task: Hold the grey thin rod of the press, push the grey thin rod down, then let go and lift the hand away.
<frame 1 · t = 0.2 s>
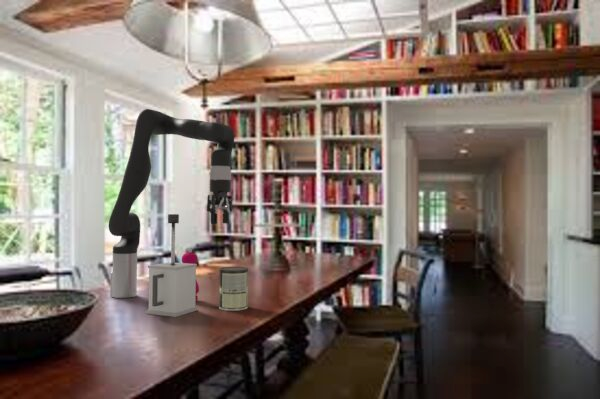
hand: (219, 223, 186), 30 cm above the table, tool pointing down, fingers open, 8 cm apart
press: (172, 311, 175), on the table
pepper mill: (189, 301, 195), on the table
grey thin rod: (173, 246, 175), point 22 cm above the table, slide at 0.0 cm
coffee can: (233, 308, 182), on the table
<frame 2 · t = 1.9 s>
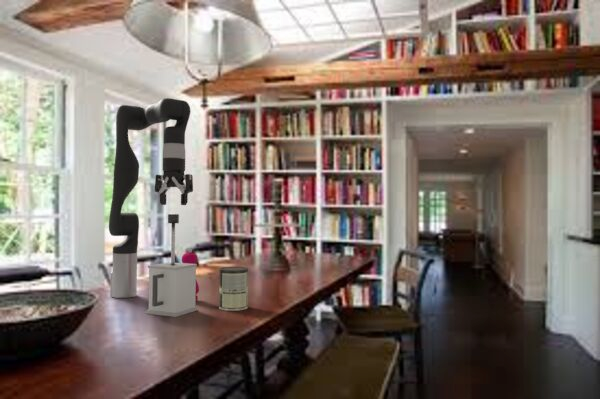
hand: (173, 205, 175), 36 cm above the table, tool pointing down, fingers open, 8 cm apart
nothing on the table moved.
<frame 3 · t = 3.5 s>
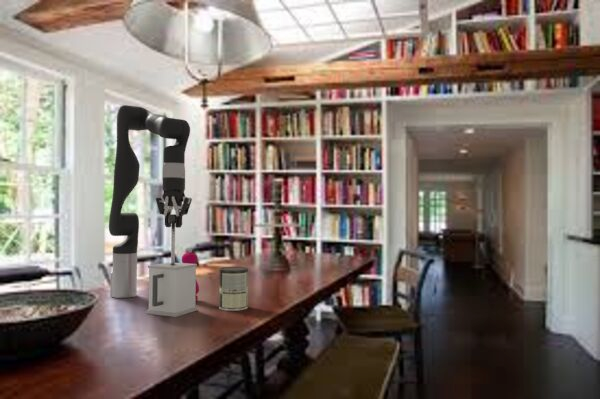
hand: (173, 227, 175), 29 cm above the table, tool pointing down, fingers closed on grey thin rod, 3 cm apart
grey thin rod: (173, 246, 175), point 22 cm above the table, slide at 0.0 cm, touching gripper
everything else where it was.
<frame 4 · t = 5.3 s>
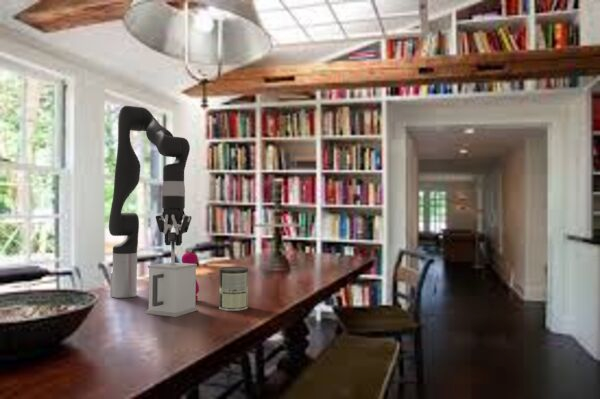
hand: (173, 245, 175), 23 cm above the table, tool pointing down, fingers closed on grey thin rod, 3 cm apart
grey thin rod: (172, 264, 175), point 16 cm above the table, slide at 6.2 cm, touching gripper
everything else where it was.
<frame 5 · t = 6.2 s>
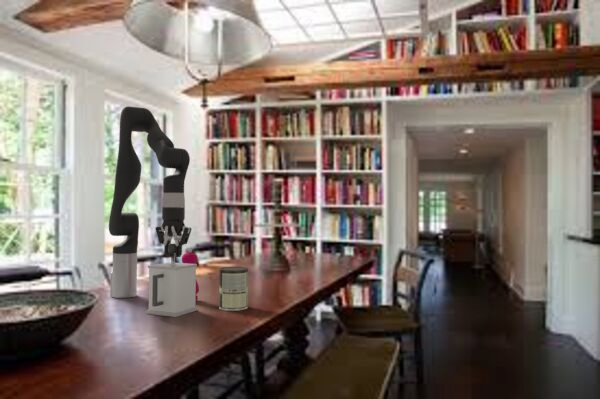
hand: (173, 256, 175), 19 cm above the table, tool pointing down, fingers closed on grey thin rod, 3 cm apart
grey thin rod: (172, 275, 175), point 12 cm above the table, slide at 10.1 cm, touching gripper
everything else where it was.
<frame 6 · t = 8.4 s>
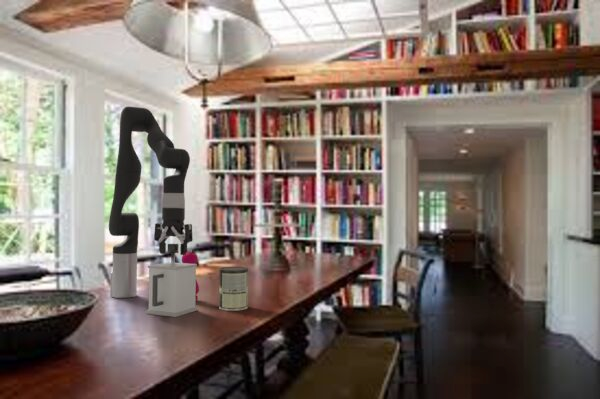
hand: (173, 254, 175), 20 cm above the table, tool pointing down, fingers open, 8 cm apart
grey thin rod: (172, 276, 175), point 12 cm above the table, slide at 10.1 cm
everything else where it was.
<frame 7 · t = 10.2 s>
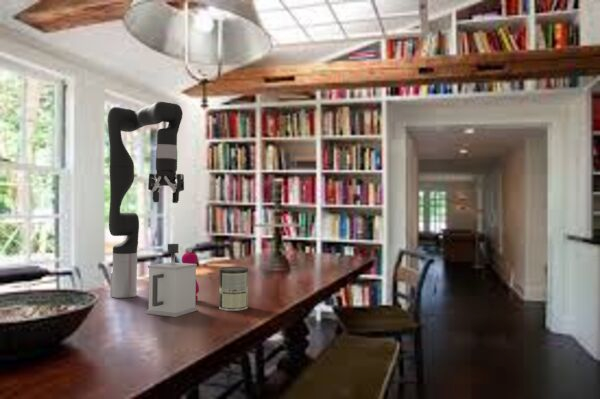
hand: (165, 202, 186), 37 cm above the table, tool pointing down, fingers open, 8 cm apart
nothing on the table moved.
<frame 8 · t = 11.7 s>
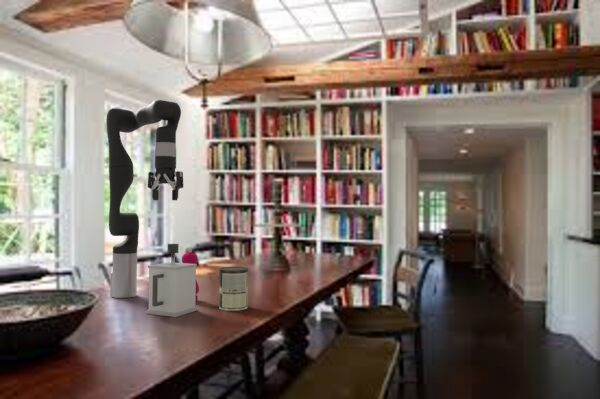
hand: (165, 200, 187), 38 cm above the table, tool pointing down, fingers open, 8 cm apart
nothing on the table moved.
at the end: grey thin rod slide at 10.1 cm; the gripper is holding nothing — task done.
